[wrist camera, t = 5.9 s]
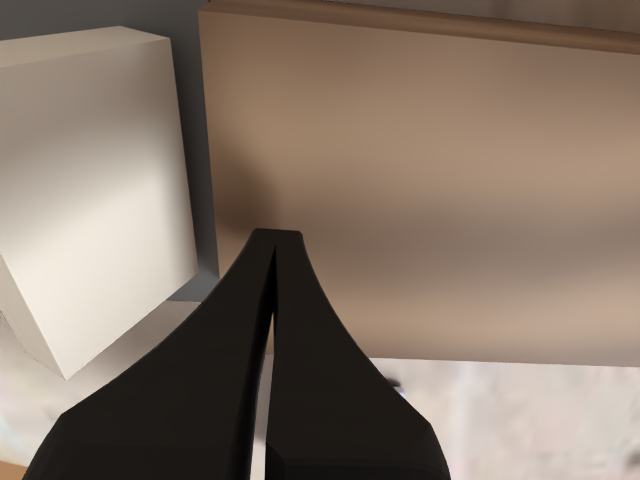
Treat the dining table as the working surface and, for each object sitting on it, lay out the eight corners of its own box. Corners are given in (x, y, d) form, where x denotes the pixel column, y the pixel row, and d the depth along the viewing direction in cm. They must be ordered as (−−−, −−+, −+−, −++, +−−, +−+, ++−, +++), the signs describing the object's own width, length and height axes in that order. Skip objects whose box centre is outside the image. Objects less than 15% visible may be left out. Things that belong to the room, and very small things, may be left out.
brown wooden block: (628, 302, 21) (686, 369, 17) (239, 282, 19) (226, 352, 16) (830, 53, 13) (994, 90, 10) (227, -10, 12) (197, 10, 9)
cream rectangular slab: (65, 380, 12) (25, 352, 13) (198, 272, 17) (163, 255, 17) (-88, 82, 7) (-146, 59, 7) (170, 38, 11) (119, 25, 12)
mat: (229, 297, 20) (228, 303, 19) (-50, 283, 19) (-56, 290, 18) (207, -54, 11) (204, -53, 11) (-311, -113, 10) (-331, -114, 10)
